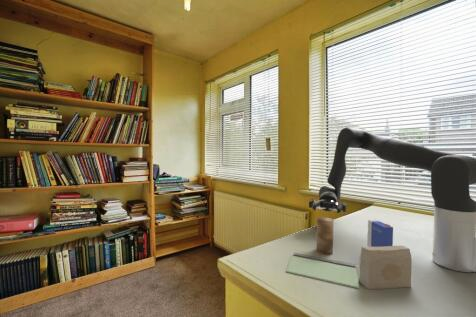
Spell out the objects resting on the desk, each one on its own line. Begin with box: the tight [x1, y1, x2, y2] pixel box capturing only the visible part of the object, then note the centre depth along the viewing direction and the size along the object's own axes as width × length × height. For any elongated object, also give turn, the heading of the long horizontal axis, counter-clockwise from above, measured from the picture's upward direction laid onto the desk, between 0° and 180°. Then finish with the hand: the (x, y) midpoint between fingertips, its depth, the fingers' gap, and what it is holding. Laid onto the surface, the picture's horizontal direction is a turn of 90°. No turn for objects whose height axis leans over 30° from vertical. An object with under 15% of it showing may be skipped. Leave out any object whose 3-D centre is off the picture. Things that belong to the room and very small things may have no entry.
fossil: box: [358, 245, 413, 290], centre depth 57 cm, size 12×4×10 cm, turn 97°
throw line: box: [293, 252, 357, 269], centre depth 70 cm, size 18×2×1 cm, turn 66°
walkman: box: [366, 219, 394, 247], centre depth 71 cm, size 8×3×12 cm, turn 3°
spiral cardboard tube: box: [315, 216, 334, 256], centre depth 76 cm, size 5×5×11 cm
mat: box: [286, 255, 360, 290], centre depth 64 cm, size 18×10×1 cm, turn 66°
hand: (326, 209), depth 87 cm, fingers open, 8 cm apart
